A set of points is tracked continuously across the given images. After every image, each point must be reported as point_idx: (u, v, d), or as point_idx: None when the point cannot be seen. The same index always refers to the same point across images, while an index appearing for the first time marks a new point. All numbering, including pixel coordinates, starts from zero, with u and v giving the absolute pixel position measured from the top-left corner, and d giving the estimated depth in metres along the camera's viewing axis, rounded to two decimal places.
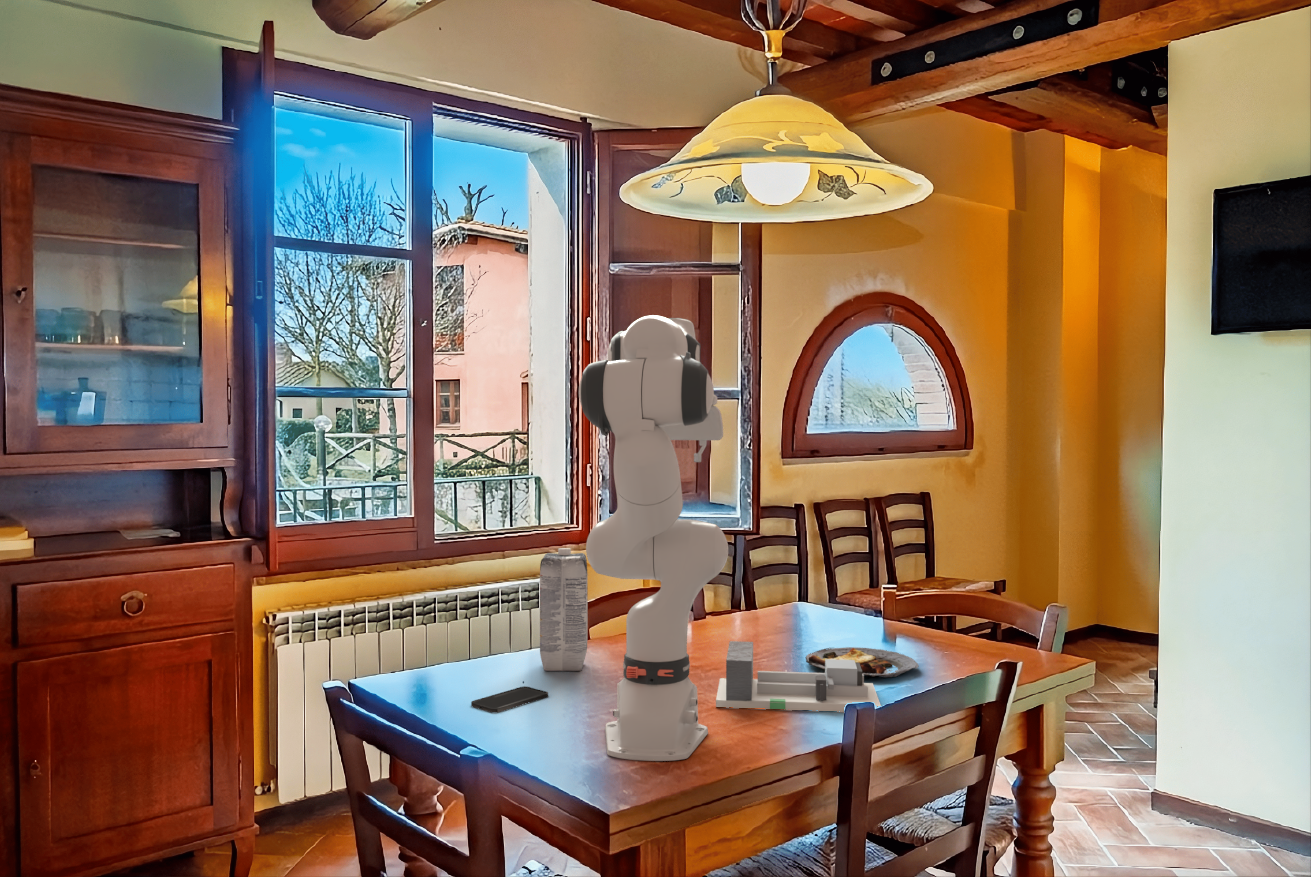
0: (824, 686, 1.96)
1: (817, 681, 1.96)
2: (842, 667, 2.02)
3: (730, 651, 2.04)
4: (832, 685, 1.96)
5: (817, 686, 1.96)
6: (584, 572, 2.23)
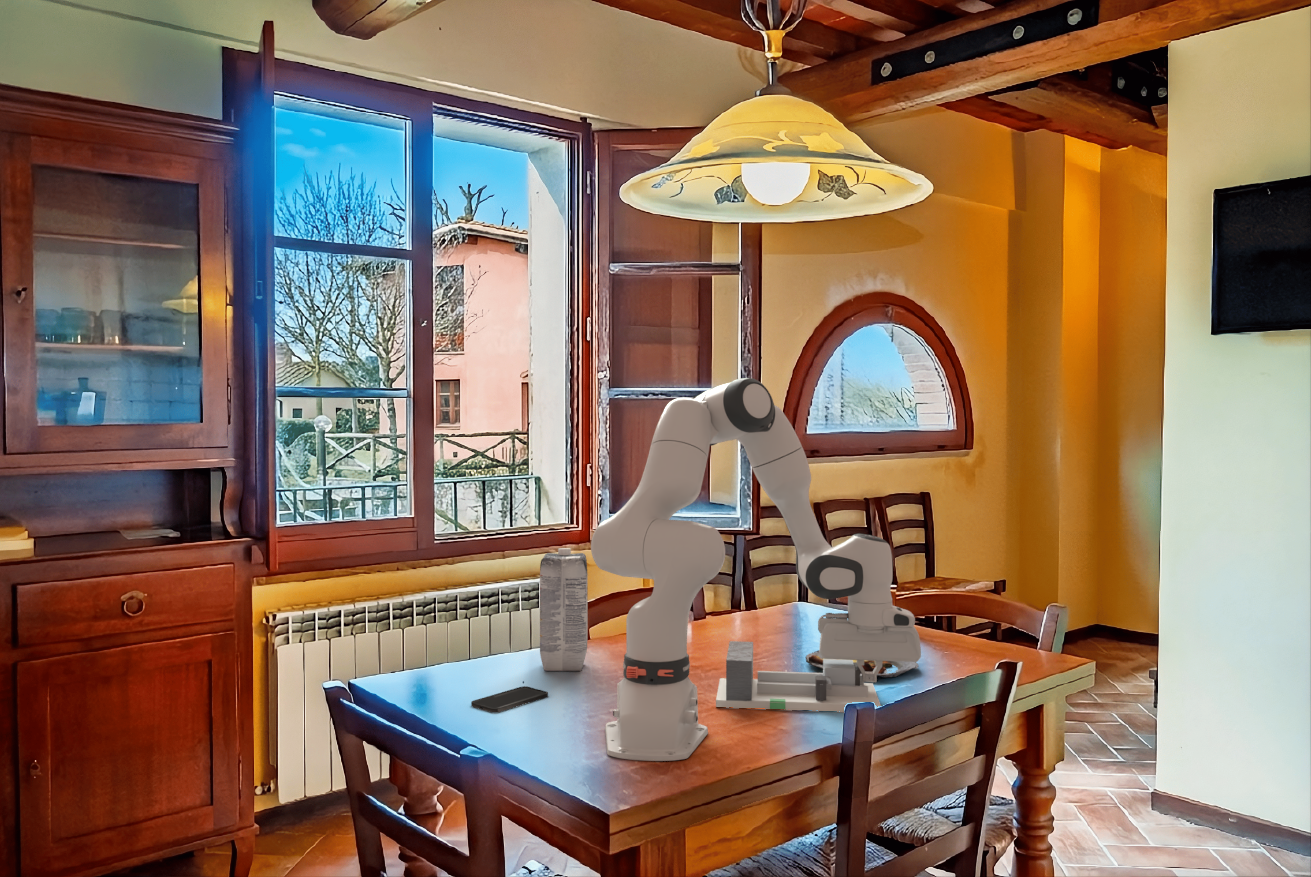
0: (824, 686, 1.96)
1: (817, 681, 1.96)
2: (840, 667, 2.02)
3: (730, 651, 2.04)
4: (830, 685, 1.96)
5: (817, 686, 1.96)
6: (584, 572, 2.23)
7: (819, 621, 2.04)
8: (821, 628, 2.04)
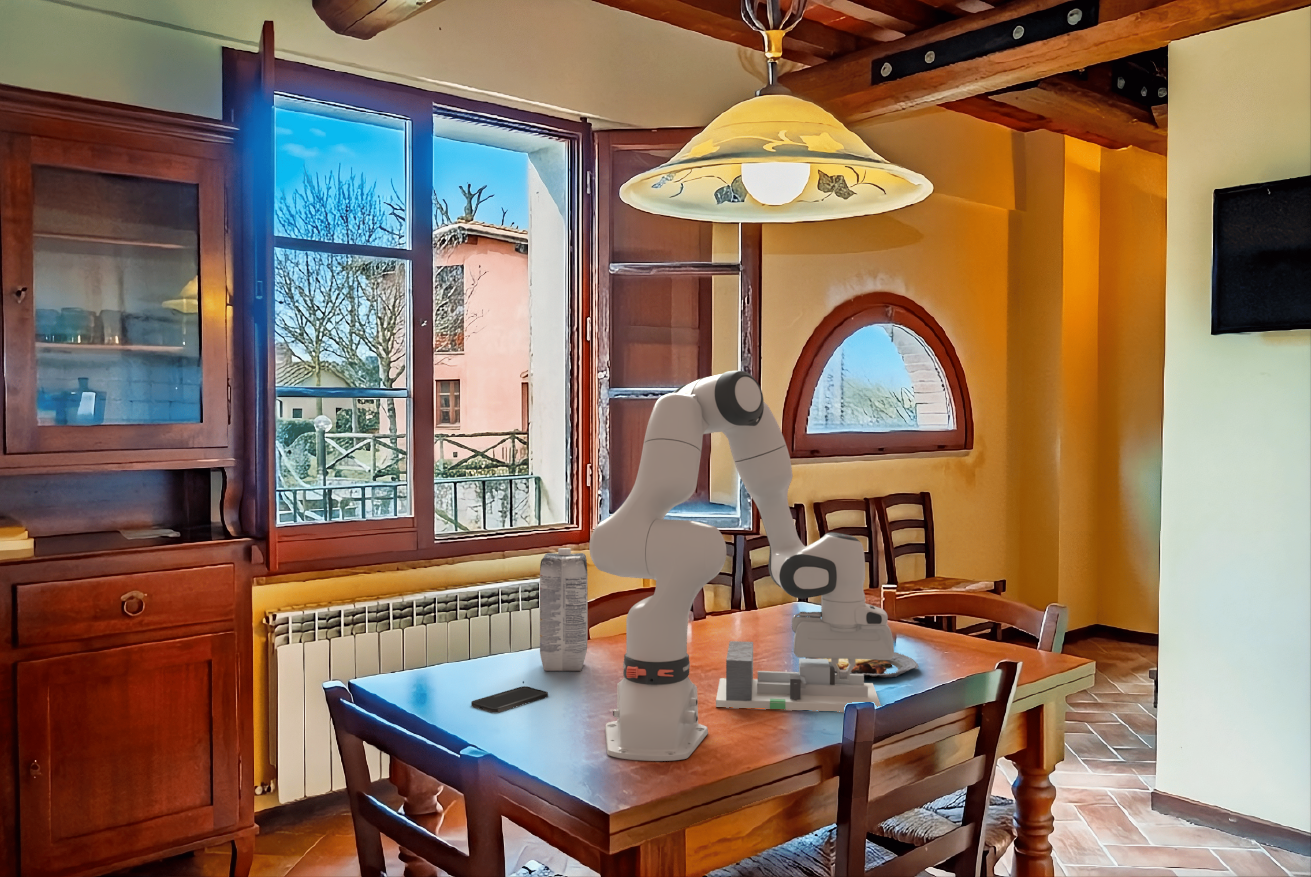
0: (798, 685, 1.96)
1: (791, 680, 1.97)
2: (815, 666, 2.02)
3: (730, 651, 2.04)
4: (804, 684, 1.96)
5: (791, 685, 1.97)
6: (584, 572, 2.23)
7: (793, 620, 2.05)
8: (795, 627, 2.05)
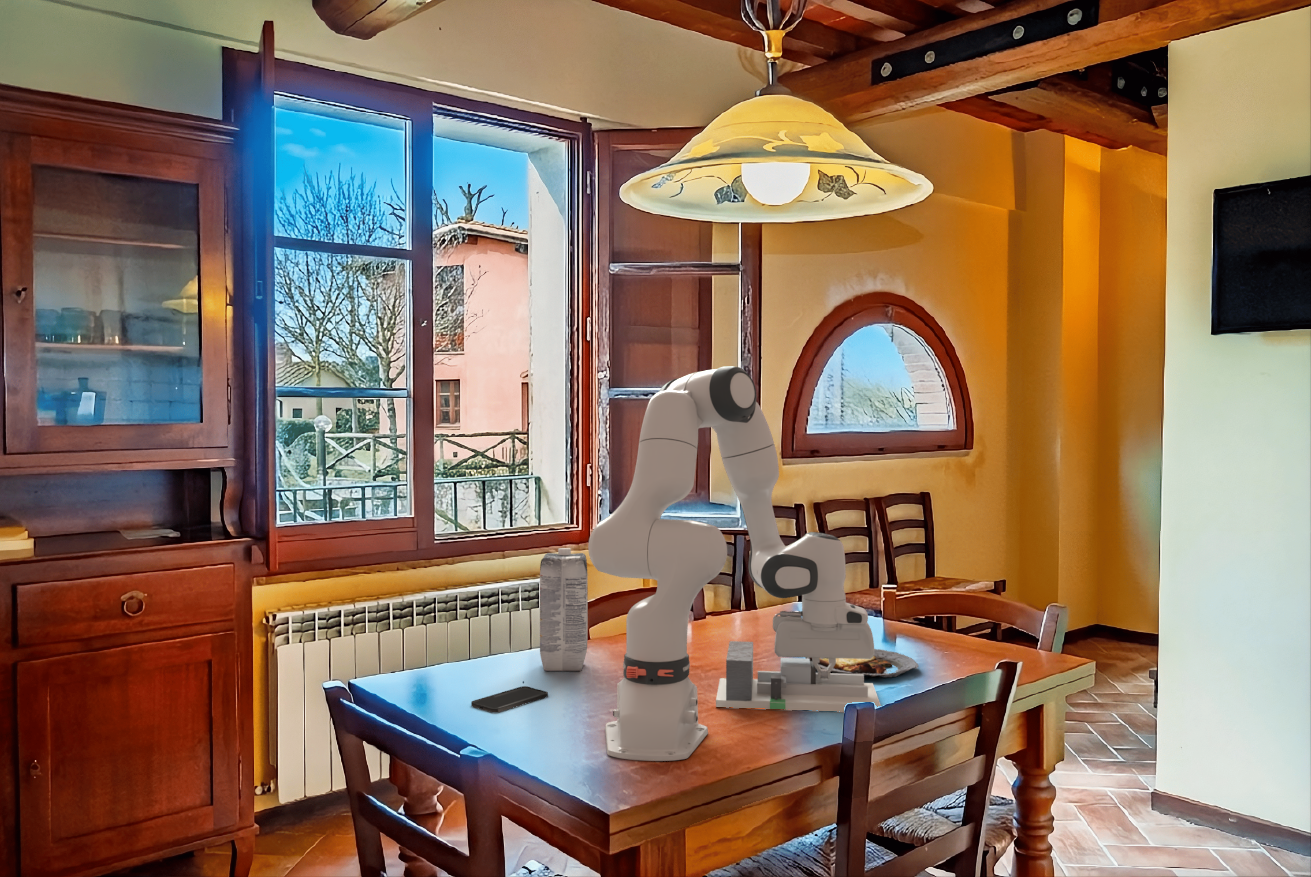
0: (779, 684, 1.97)
1: (772, 679, 1.97)
2: (796, 665, 2.03)
3: (730, 651, 2.04)
4: (785, 683, 1.97)
5: (772, 684, 1.97)
6: (584, 572, 2.23)
7: (773, 619, 2.05)
8: (776, 626, 2.05)
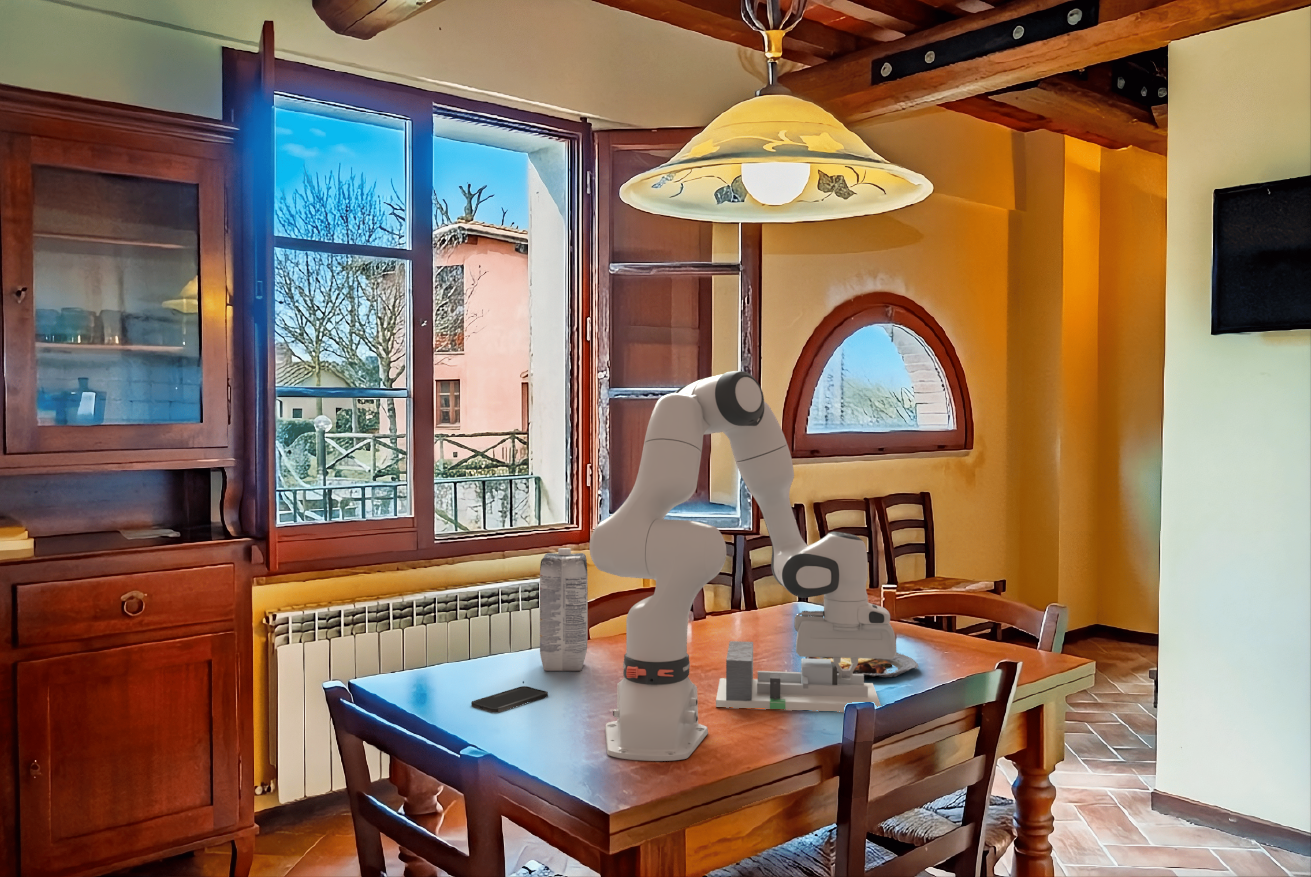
0: (778, 684, 1.97)
1: (771, 679, 1.97)
2: (817, 666, 2.02)
3: (730, 651, 2.04)
4: (807, 684, 1.96)
5: (771, 684, 1.97)
6: (584, 572, 2.23)
7: (795, 619, 2.05)
8: (797, 626, 2.05)
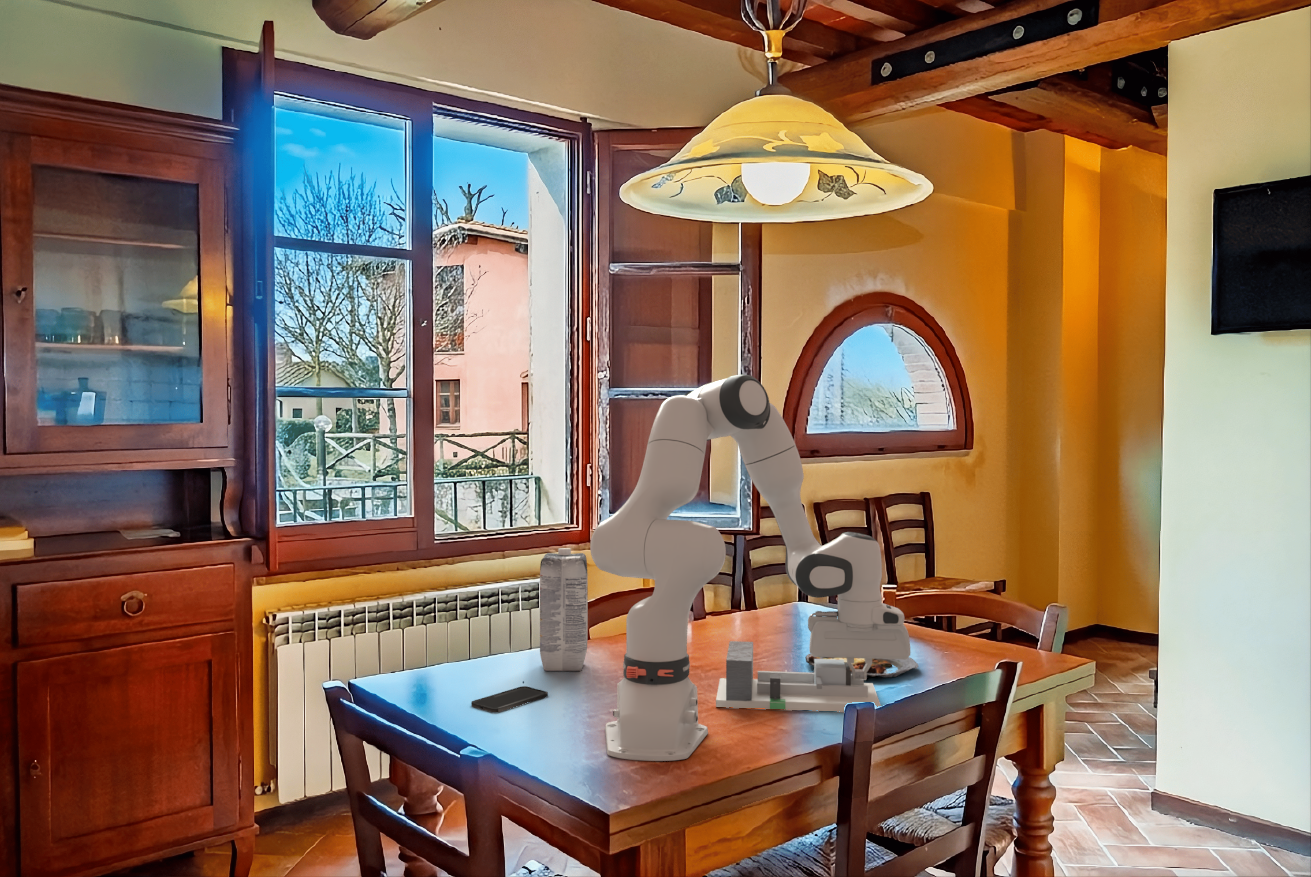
0: (778, 684, 1.97)
1: (771, 679, 1.97)
2: (831, 667, 2.02)
3: (730, 651, 2.04)
4: (820, 685, 1.96)
5: (771, 684, 1.97)
6: (584, 572, 2.23)
7: (809, 619, 2.05)
8: (811, 626, 2.04)
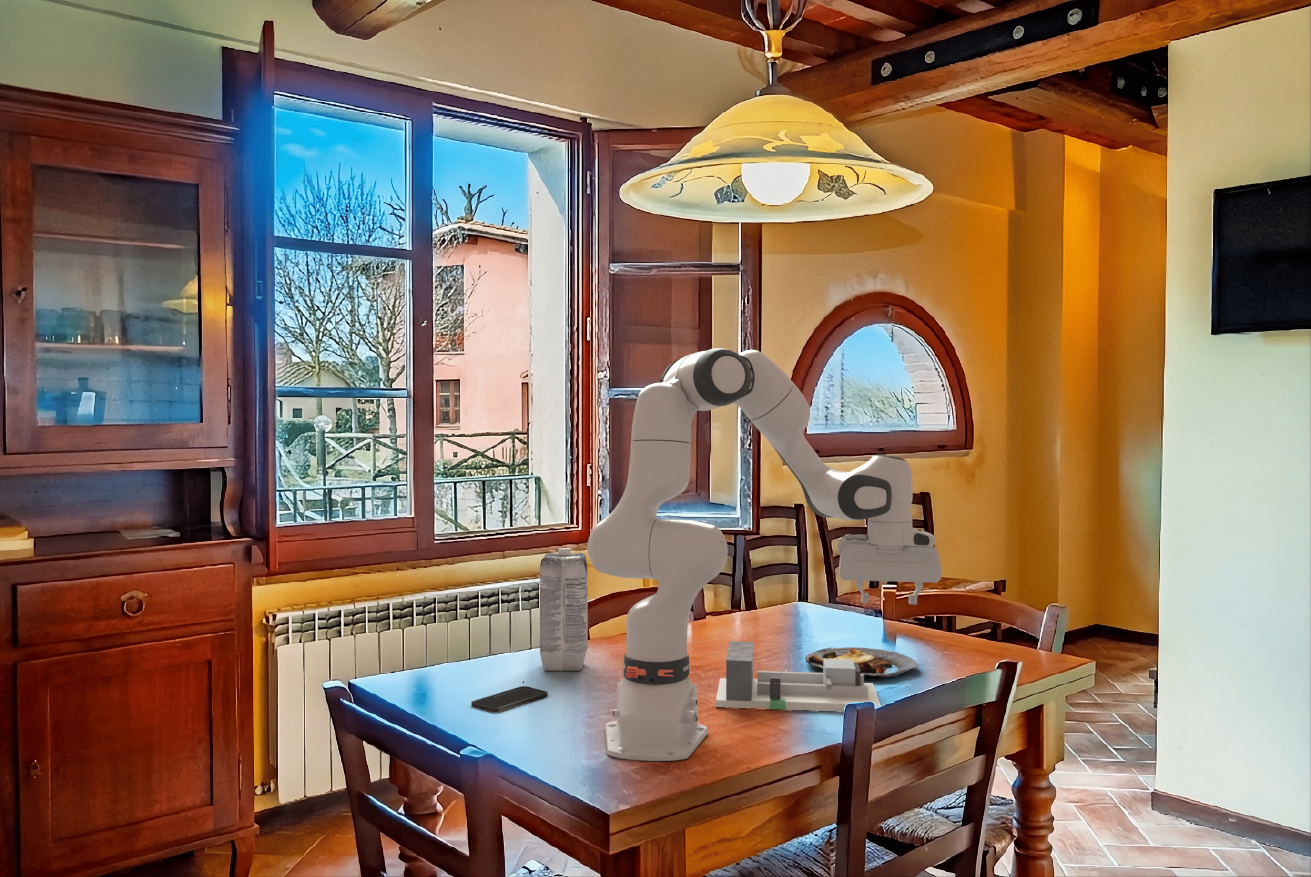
0: (778, 684, 1.97)
1: (771, 679, 1.97)
2: (840, 667, 2.02)
3: (730, 651, 2.04)
4: (830, 685, 1.96)
5: (771, 684, 1.97)
6: (584, 572, 2.23)
7: (838, 542, 2.03)
8: (840, 549, 2.03)
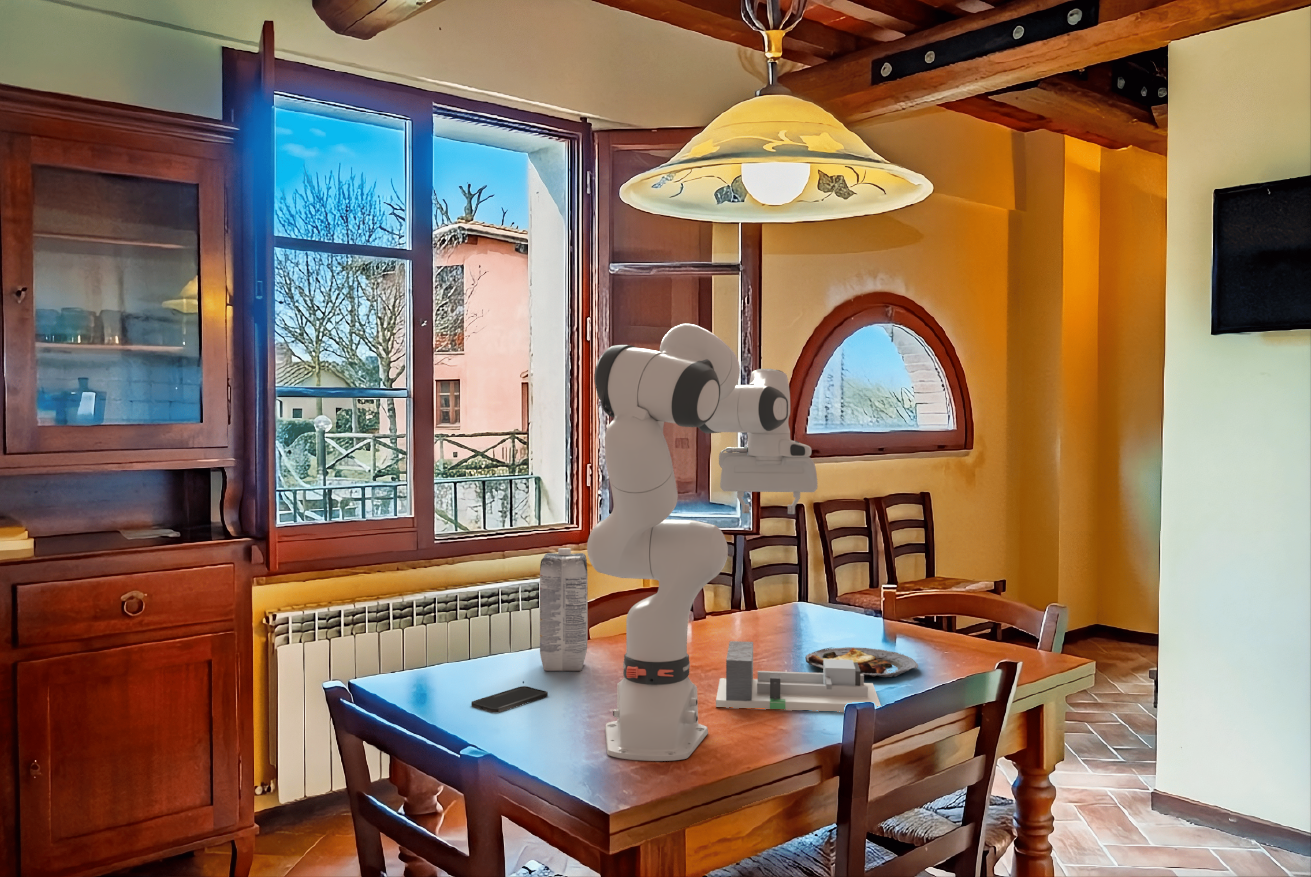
0: (778, 684, 1.97)
1: (771, 679, 1.97)
2: (840, 667, 2.02)
3: (730, 651, 2.04)
4: (830, 685, 1.96)
5: (771, 684, 1.97)
6: (584, 572, 2.23)
7: (720, 455, 2.09)
8: (722, 462, 2.09)
